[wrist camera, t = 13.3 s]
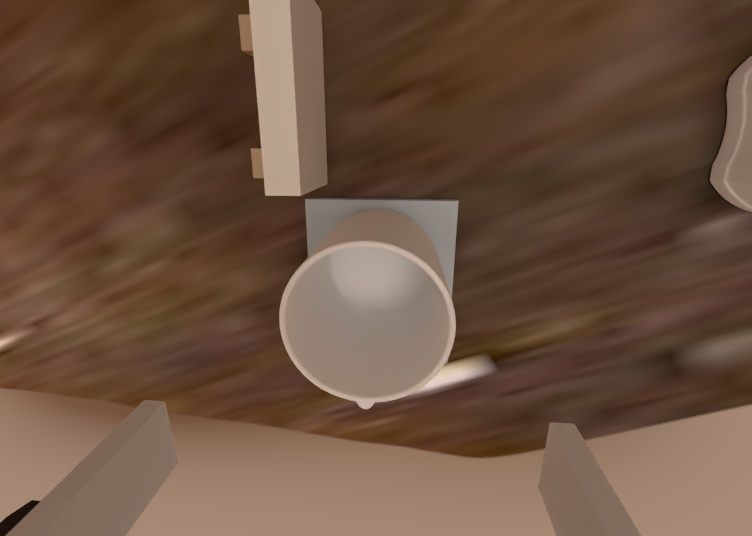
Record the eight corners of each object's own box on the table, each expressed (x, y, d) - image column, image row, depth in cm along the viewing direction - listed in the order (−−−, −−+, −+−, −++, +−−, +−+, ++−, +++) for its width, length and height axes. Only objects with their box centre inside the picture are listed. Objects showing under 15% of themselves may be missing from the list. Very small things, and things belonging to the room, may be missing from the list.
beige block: (247, 13, 25) (183, -41, 18) (321, 12, 25) (287, -45, 17) (261, 183, 28) (212, 194, 21) (327, 184, 28) (300, 195, 21)
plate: (308, 197, 28) (304, 199, 27) (456, 199, 27) (458, 201, 27) (316, 351, 32) (313, 357, 31) (446, 356, 31) (447, 363, 30)
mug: (321, 348, 31) (280, 446, 21) (325, 202, 27) (276, 233, 17) (426, 359, 30) (437, 464, 20) (444, 211, 27) (468, 248, 17)
